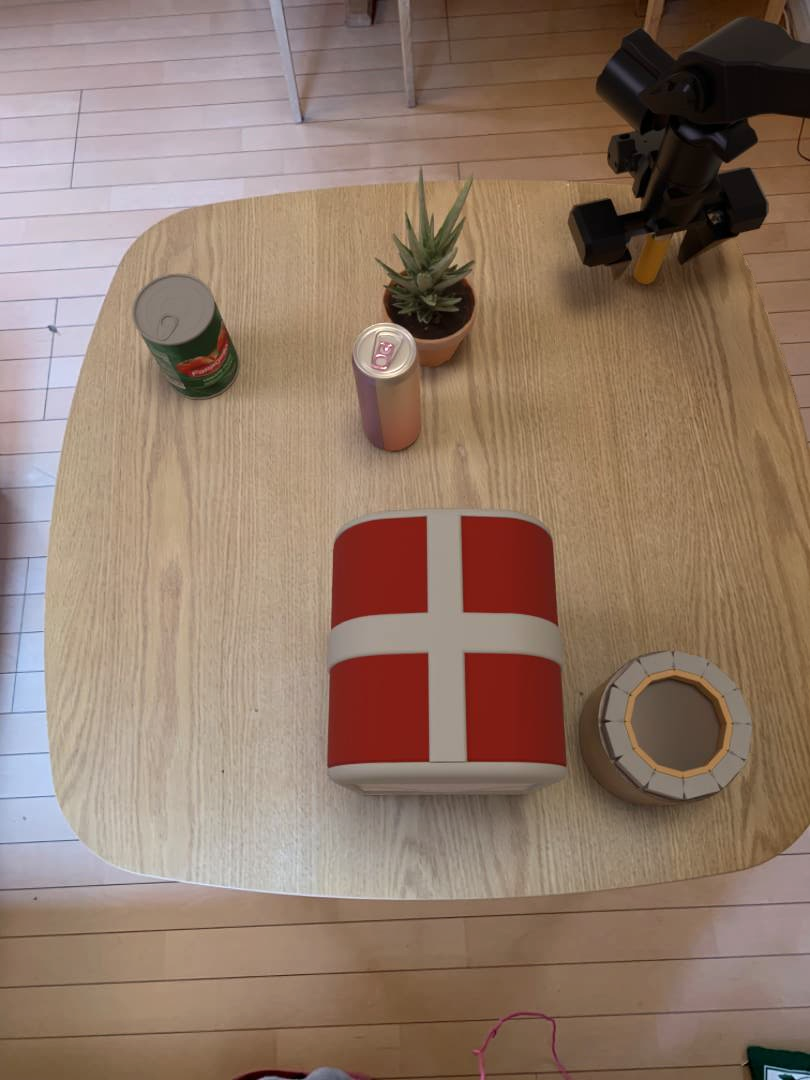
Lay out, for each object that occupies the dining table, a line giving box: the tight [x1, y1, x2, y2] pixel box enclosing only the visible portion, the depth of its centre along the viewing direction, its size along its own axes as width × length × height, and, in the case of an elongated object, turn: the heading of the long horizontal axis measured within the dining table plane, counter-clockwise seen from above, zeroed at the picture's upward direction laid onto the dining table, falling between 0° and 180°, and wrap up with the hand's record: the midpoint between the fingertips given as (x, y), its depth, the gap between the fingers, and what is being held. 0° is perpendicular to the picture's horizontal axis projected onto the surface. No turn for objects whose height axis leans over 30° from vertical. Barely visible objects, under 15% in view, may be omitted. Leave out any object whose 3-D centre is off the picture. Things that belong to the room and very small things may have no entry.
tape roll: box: [601, 650, 754, 800], centre depth 67 cm, size 11×11×2 cm
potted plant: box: [373, 164, 478, 367], centre depth 79 cm, size 10×10×25 cm
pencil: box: [633, 233, 674, 285], centre depth 89 cm, size 2×2×8 cm
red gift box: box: [326, 507, 568, 796], centre depth 66 cm, size 16×18×27 cm
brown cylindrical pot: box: [578, 650, 750, 807], centre depth 72 cm, size 12×12×10 cm
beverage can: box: [351, 322, 422, 451], centre depth 81 cm, size 6×6×15 cm
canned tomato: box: [131, 272, 240, 400], centre depth 86 cm, size 8×8×11 cm
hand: (647, 269), depth 92 cm, fingers open, 7 cm apart
